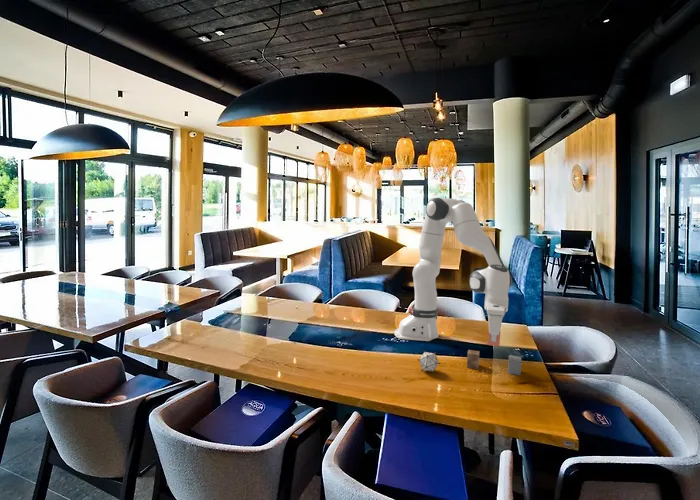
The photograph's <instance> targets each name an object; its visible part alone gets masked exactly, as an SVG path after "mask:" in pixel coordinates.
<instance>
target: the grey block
mask: <svg viewBox="0 0 700 500" xmlns="http://www.w3.org/2000/svg"><path fill="white" fill-rule="evenodd" d="M507 366H508V367H507V373H508V374H509V375H516V376H521V375H522V374H521V373H522V356H518V355H510V354H509V355H508V364H507Z"/></svg>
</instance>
